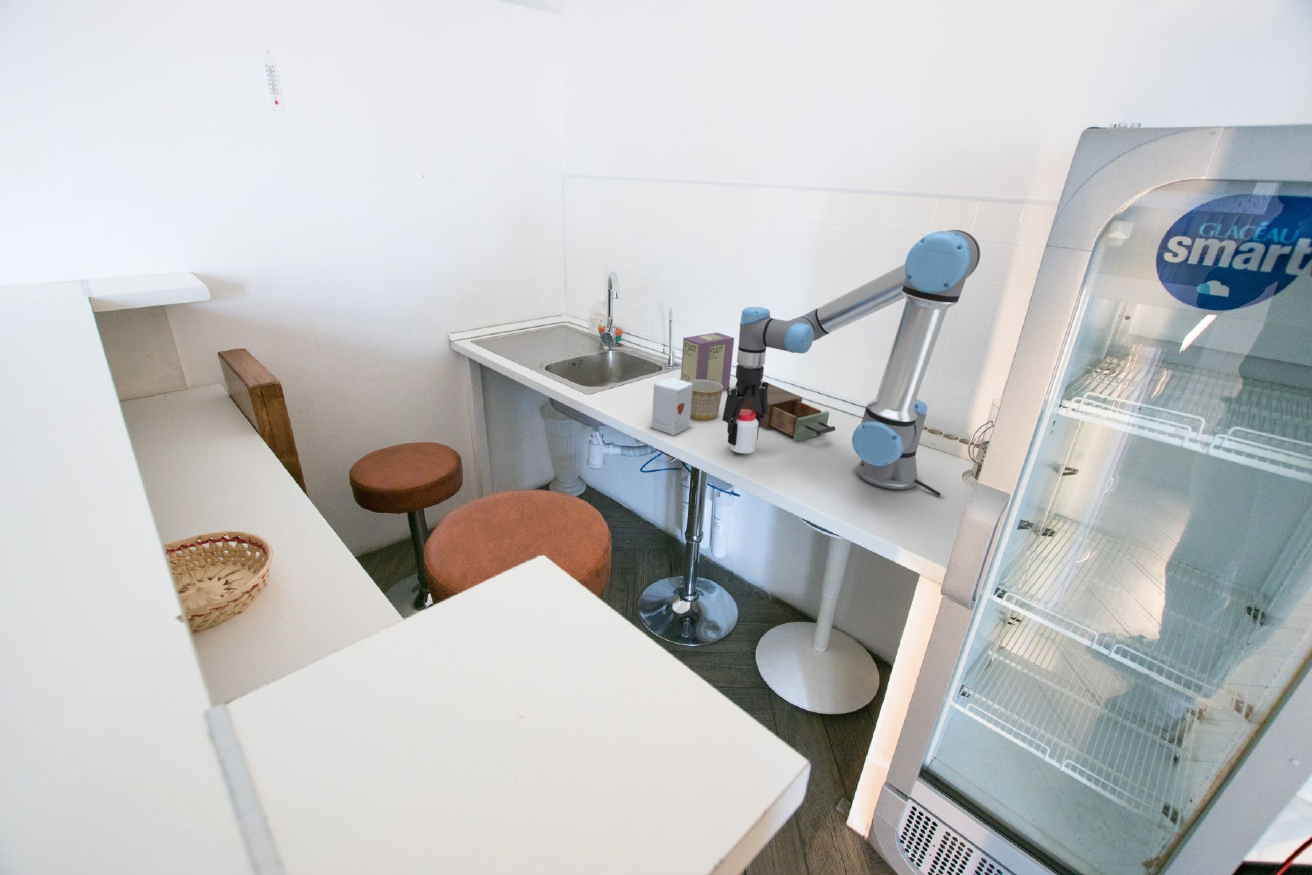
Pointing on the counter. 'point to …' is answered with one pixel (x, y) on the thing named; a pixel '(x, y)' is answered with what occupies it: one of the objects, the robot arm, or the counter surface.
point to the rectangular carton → (672, 405)
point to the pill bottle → (746, 432)
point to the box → (707, 358)
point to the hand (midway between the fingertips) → (742, 440)
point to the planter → (705, 399)
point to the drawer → (800, 420)
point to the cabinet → (773, 402)
